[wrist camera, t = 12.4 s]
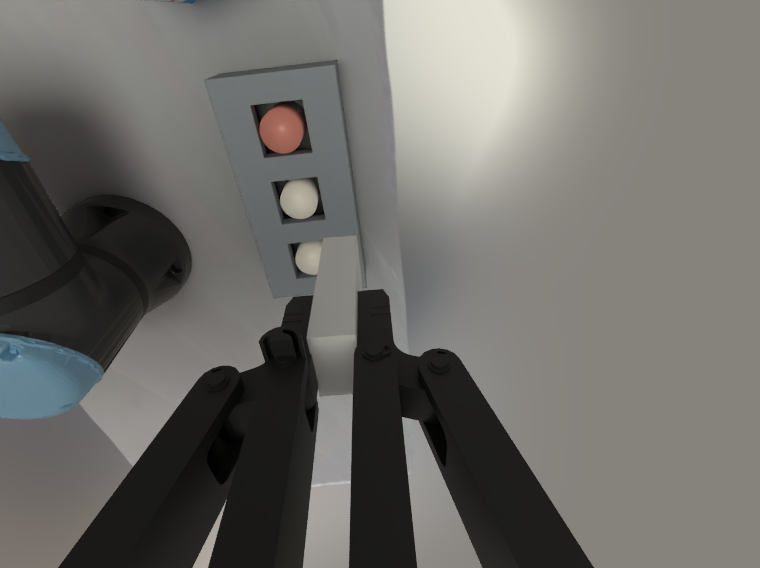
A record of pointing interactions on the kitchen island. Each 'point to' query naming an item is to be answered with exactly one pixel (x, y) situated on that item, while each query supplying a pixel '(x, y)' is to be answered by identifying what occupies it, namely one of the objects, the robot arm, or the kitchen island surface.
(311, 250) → the ivory egg
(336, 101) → the grey socket block
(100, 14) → the kitchen island surface
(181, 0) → the ink box
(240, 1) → the kitchen island surface
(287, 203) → the cream egg
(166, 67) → the kitchen island surface
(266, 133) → the red egg
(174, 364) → the kitchen island surface
